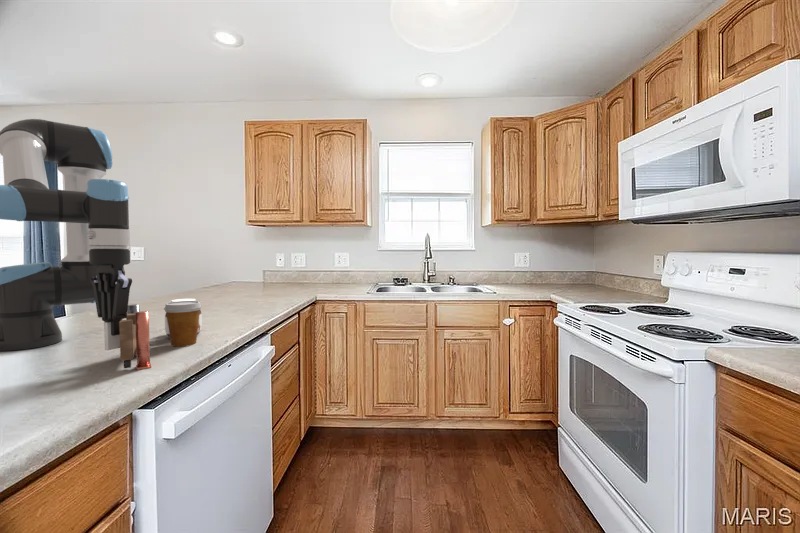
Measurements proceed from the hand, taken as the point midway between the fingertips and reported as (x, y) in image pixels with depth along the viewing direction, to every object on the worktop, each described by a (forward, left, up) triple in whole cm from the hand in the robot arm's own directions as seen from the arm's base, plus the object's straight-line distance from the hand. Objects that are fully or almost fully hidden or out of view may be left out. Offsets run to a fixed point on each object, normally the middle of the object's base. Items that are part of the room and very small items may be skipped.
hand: (113, 348), depth 89 cm
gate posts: (-2, +5, -4) cm, 7 cm away
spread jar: (-26, +18, -5) cm, 32 cm away
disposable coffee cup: (-14, +17, -5) cm, 22 cm away
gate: (-1, +3, -4) cm, 5 cm away
